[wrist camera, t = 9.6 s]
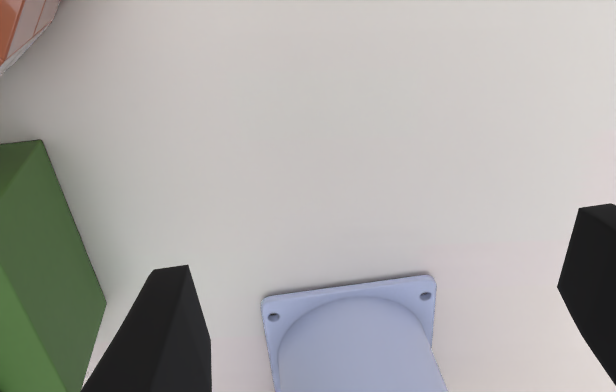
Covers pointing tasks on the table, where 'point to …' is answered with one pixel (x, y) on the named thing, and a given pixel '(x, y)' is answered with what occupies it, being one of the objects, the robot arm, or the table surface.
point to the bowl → (22, 26)
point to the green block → (42, 279)
